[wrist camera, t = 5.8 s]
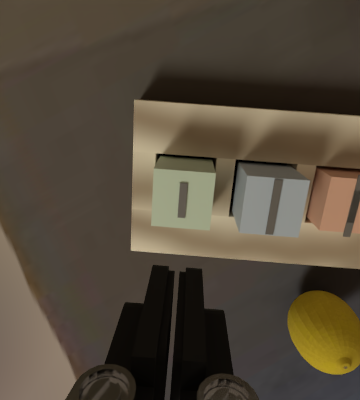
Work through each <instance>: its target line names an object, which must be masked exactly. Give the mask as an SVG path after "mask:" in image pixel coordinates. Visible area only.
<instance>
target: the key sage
mask: <svg viewBox="0 0 360 400" xmlns="http://www.w3.org/2000/svg"><path fill="white" fill-rule="evenodd" d="M215 178H216V172H215V168H214V165H213V161H212V160H209V159H196V158H183V157H170V156H160V158H159V159H158V161H157V163H156V165H155V167H154V172H153V195H152V218H151V226H159V227H172V228H184V229H197V230H209V231H210V224H211V215H212V206H213V196H214V187H215Z"/></svg>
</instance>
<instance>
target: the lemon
mask: <svg viewBox="0 0 360 400" xmlns="http://www.w3.org/2000/svg"><path fill="white" fill-rule="evenodd" d="M288 328H289V332H290V336H291V338H292V341H293V343H294V345H295V346H296V348H297V349H298V351H299V352H300V354H301V355H302V356H303V358H304V359H305V360H306V361H307V362H308V363H310V364H311V365H312V366H313V367H314V368H316V369H318V370H320V371H322V372H325V373H329V374H345V373H348V372H350V371H352V370H354V369H355V368H356V367H357V366H358V365H359V364H360V321H359V319H358V317H357V316H356V314H355V313H354V312H353V310H352V309H351V308H350V306H349V305H348V304H347V303H346V302H344V301H343V300H342V299H340V298H339V297H337V296H336V295H334V294H331V293H329V292H326V291H319V290H316V291H309V292H305V293H303V294H301V295H300V296H298V297H297V298H296V299H295V300H294V302H293V303H292V304H291V306H290V309H289V312H288Z"/></svg>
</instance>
